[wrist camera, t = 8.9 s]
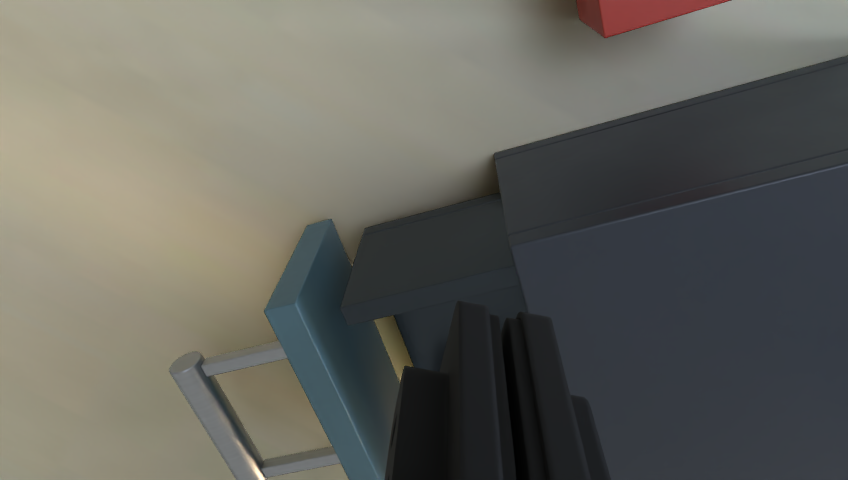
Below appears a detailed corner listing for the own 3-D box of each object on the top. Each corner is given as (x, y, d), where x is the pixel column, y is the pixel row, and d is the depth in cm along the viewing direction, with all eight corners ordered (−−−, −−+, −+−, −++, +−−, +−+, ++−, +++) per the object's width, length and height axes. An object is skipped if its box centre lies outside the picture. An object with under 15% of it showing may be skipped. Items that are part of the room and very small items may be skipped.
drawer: (288, 449, 33) (250, 565, 27) (182, 258, 28) (106, 349, 22) (677, 371, 29) (734, 485, 23) (640, 134, 24) (701, 203, 18)
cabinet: (558, 392, 32) (591, 540, 24) (493, 153, 26) (509, 247, 18) (883, 326, 29) (1038, 469, 21) (892, 42, 23) (1109, 98, 15)
